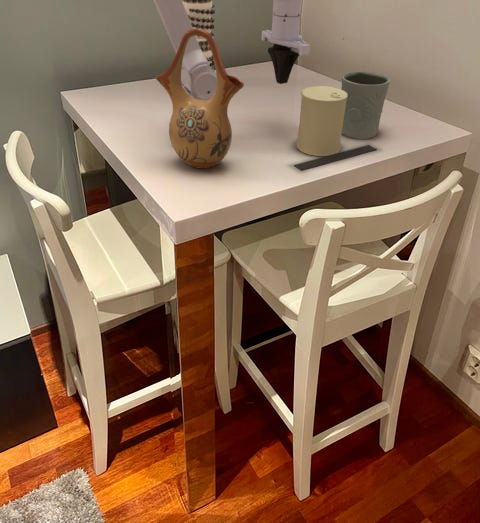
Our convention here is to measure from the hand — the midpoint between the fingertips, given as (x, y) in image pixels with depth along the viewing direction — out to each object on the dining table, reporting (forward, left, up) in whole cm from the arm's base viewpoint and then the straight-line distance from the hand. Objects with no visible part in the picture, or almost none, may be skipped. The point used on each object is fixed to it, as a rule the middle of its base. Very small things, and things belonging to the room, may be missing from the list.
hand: (281, 82), depth 112 cm
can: (-9, -9, -10) cm, 17 cm away
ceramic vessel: (-22, +13, -10) cm, 28 cm away
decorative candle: (+30, +25, -10) cm, 40 cm away
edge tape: (-14, -13, -10) cm, 22 cm away
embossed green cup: (+2, -18, -10) cm, 21 cm away
